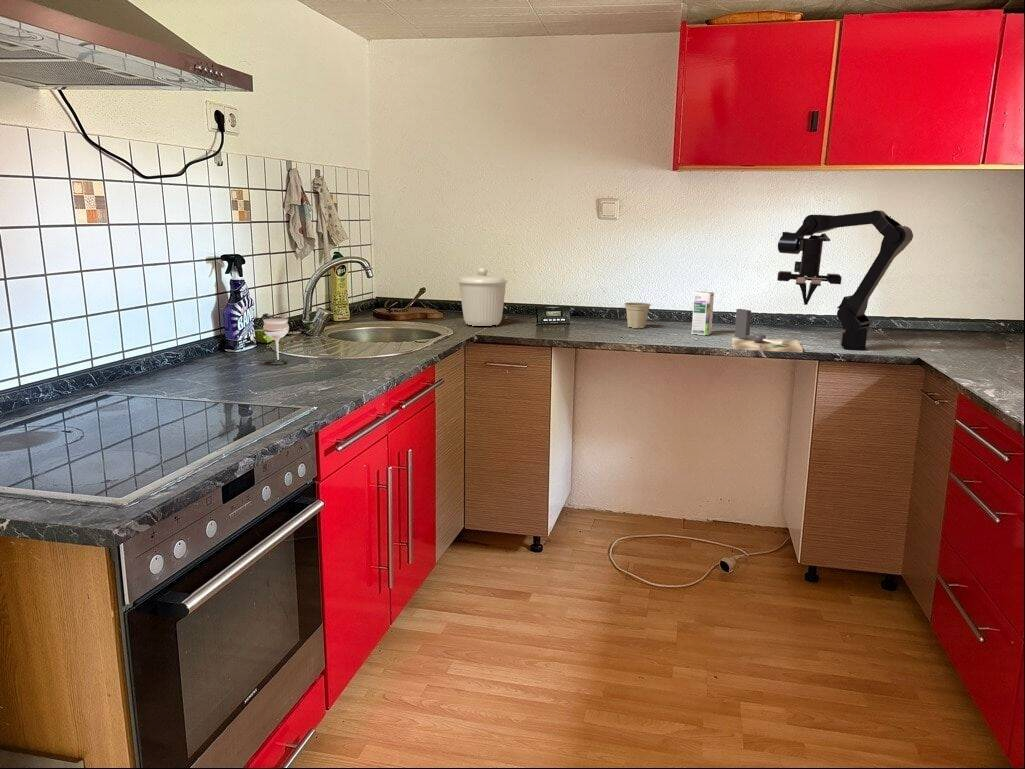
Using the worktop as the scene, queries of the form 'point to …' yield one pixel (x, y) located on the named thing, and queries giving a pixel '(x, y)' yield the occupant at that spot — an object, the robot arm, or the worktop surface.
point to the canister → (482, 298)
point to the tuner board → (767, 345)
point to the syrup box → (702, 313)
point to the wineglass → (276, 329)
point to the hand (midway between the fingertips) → (805, 304)
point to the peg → (748, 327)
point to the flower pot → (637, 314)
